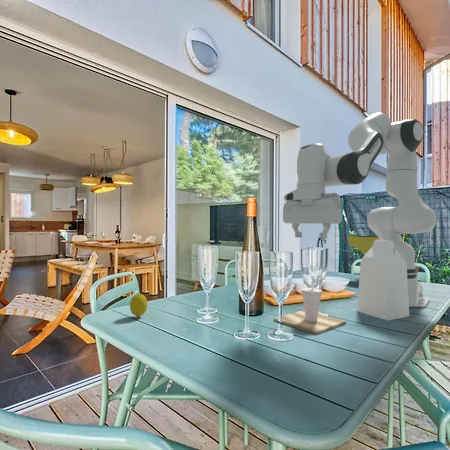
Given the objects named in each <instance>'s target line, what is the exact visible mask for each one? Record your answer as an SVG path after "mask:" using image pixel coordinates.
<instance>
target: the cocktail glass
mask: <svg viewBox="0 0 450 450" xmlns="http://www.w3.org/2000/svg"><path fill="white" fill-rule="evenodd" d="M375 240H380V239H379V237H378V236H377V235H348V236H347V243H348V244H349V245H350V246H352V247H354V248H356V249H357V250H359V251H360V252H361V254H363V256H364V255H365V254H366V253H367V252H368V251H369V250H370V249H371V248H372V246H373V243H374V241H375ZM359 278H360V277H358V278H354V279H355V280H357V281H356V282H359ZM355 280H354V281H355Z"/></svg>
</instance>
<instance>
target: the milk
mask: <svg viewBox="0 0 450 450" xmlns="http://www.w3.org/2000/svg"><path fill="white" fill-rule="evenodd" d="M358 278H359V281H358V295H357V309H356V311H357V312H358V313H362V314H364V315H369V316H371V317H375V318H378V319H381V320H385V321H392V320H397V319H402V318H406V317H410V307H409V299H408V280H407V264H406V261H405V259H404V258H403V257H402V256H401V255H400V253H399V252H398V251H397V250H396V249H395V246H394V244H393V241H389V240H375V241H374V243H373V246H372V248H371V249H370V250H369V251H368V252H367V253H366V254H365V255H364V254H363V257H362V258H361V260H360V265H359V277H358Z"/></svg>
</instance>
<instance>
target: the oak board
mask: <svg viewBox="0 0 450 450" xmlns="http://www.w3.org/2000/svg"><path fill="white" fill-rule="evenodd" d="M281 316H282V323H281V324H283V325H286V326H288V327H292V328H295V329H298V330H301V331H304V332H307V333H309V334H310V333H311V334H312V335H316V336H317V335H320V334H322V333H324V332H328V331H330V330H332V329H336V328H338V327H340V326H343V325H346V324H347V321H346V320H343V319H339V318H335V317H331V316H328V315H324V314H320V313H318V320H317V321H316V322H309V321H306V320H305V312H304V309H303V310H299V311H295V312H293V313H292V312H291V313H288V314H285V315H281ZM278 317H279V316H278ZM278 317H277V316H276V317H273V322H277V323H279V322H278Z"/></svg>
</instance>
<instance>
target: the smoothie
mask: <svg viewBox="0 0 450 450" xmlns="http://www.w3.org/2000/svg"><path fill="white" fill-rule="evenodd" d="M314 281H315V279H314V276H311V287H304V288H301V293H302V301H303V310H304V312H305V320H306V321H309V322H316V321H317V320H318V314H319V311H320V305H321V296H322V294H323V290H322V289H319V288H315V287H314Z"/></svg>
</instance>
